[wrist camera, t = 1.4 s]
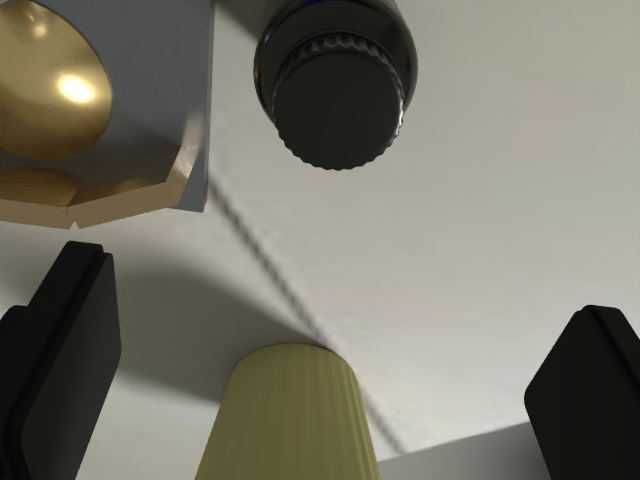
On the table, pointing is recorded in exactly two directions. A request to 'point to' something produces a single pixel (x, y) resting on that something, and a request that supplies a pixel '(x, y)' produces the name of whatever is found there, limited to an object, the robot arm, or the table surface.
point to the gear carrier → (103, 108)
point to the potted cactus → (290, 420)
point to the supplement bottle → (335, 77)
